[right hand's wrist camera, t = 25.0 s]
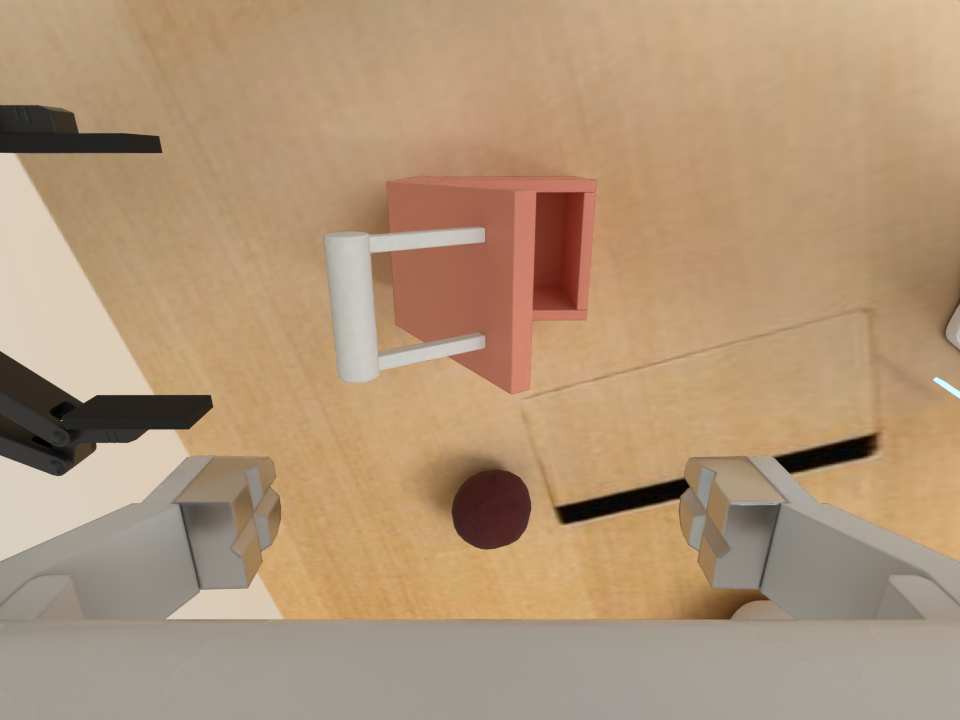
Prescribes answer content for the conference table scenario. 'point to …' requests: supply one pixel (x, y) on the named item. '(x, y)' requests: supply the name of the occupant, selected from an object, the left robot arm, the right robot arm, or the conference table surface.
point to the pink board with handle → (441, 282)
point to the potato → (491, 509)
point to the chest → (553, 239)
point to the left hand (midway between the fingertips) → (175, 289)
